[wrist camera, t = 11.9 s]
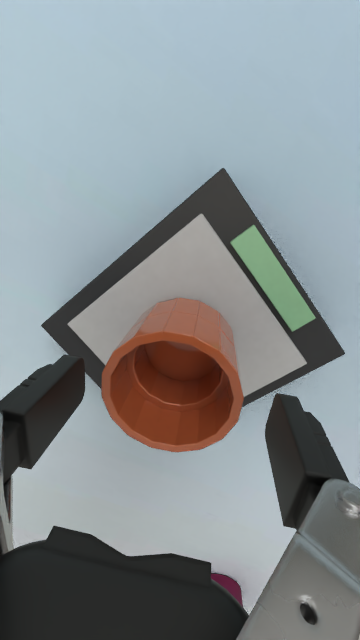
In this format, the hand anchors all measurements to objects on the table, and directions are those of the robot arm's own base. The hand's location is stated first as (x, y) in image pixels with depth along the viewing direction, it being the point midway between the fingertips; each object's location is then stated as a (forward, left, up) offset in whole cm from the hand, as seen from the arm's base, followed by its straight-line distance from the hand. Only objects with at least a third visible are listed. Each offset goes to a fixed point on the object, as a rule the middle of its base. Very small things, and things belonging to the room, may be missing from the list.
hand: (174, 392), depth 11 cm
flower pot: (0, 0, -5) cm, 5 cm away
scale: (0, 0, -8) cm, 8 cm away
